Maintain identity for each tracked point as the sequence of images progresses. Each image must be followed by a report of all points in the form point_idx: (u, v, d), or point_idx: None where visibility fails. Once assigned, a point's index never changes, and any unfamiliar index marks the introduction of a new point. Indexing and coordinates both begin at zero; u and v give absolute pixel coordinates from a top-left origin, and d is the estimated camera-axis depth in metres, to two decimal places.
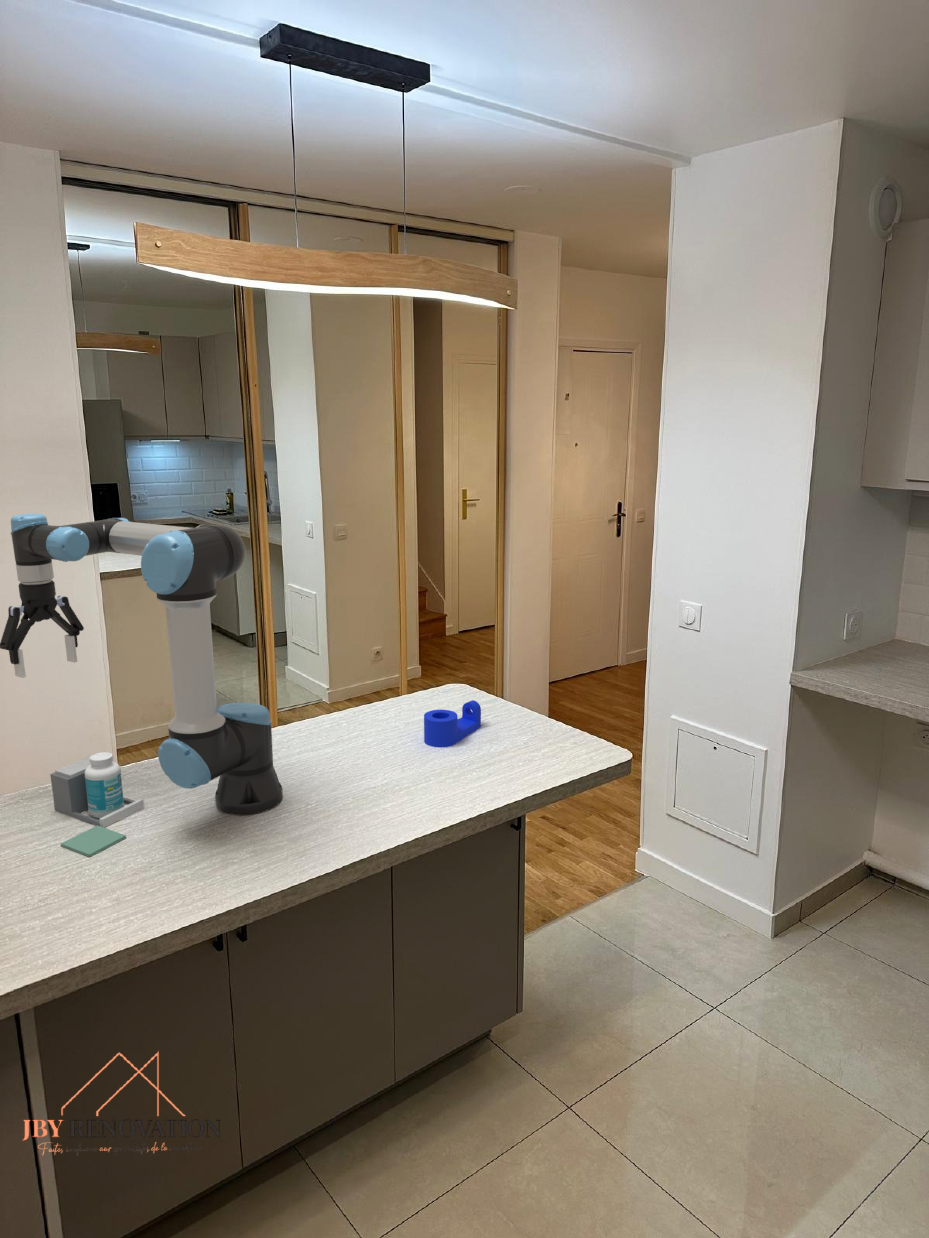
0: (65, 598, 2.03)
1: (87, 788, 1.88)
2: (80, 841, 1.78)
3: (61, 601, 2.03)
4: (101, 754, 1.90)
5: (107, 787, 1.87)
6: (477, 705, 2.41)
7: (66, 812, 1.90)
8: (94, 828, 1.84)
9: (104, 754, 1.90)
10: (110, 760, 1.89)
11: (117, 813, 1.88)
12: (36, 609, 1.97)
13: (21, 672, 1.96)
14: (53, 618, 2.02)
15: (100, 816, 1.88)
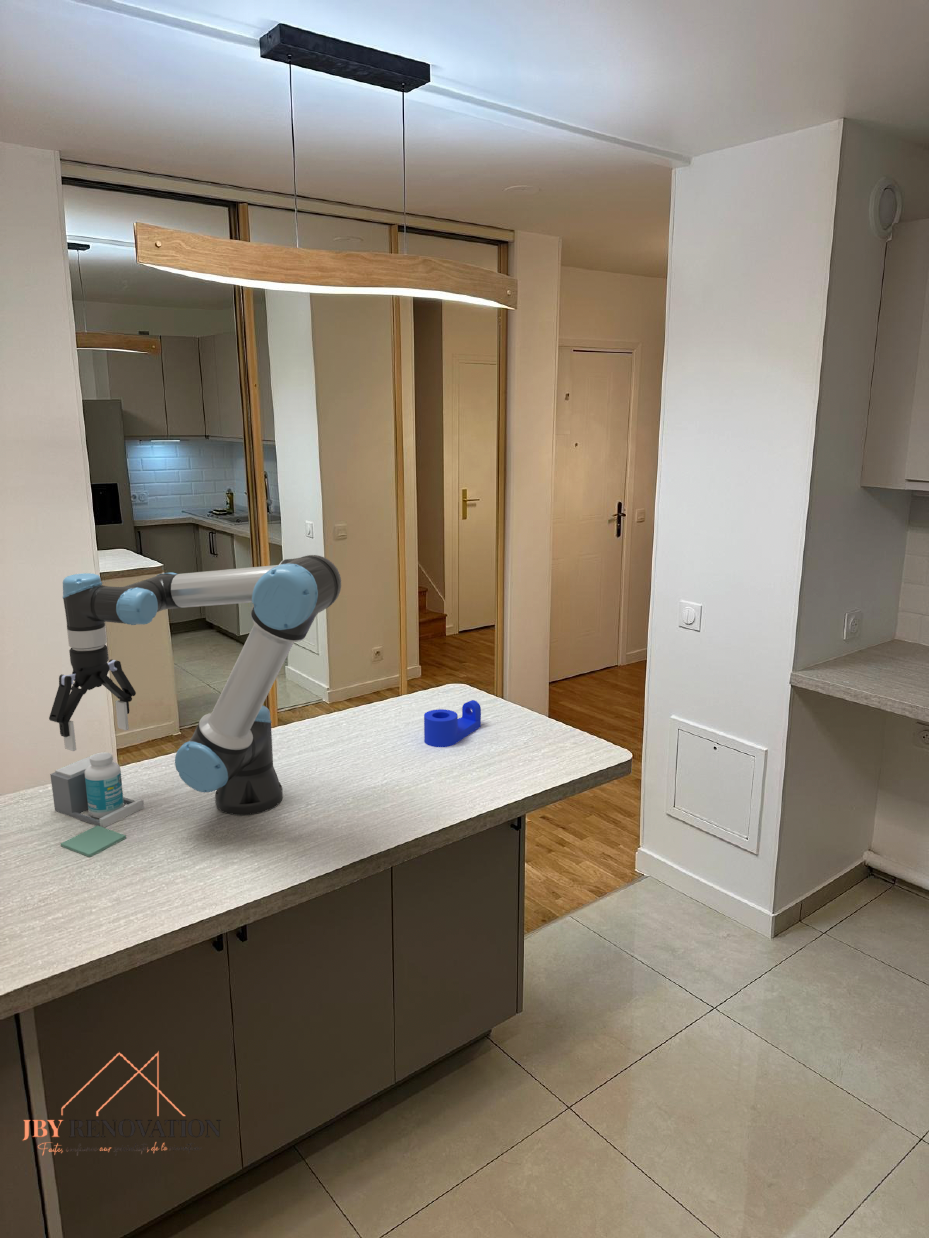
0: (118, 662, 1.88)
1: (87, 788, 1.88)
2: (80, 841, 1.78)
3: (113, 666, 1.88)
4: (101, 754, 1.90)
5: (107, 787, 1.87)
6: (476, 705, 2.41)
7: (66, 812, 1.90)
8: (94, 828, 1.84)
9: (104, 754, 1.90)
10: (110, 760, 1.89)
11: (117, 813, 1.88)
12: (88, 677, 1.82)
13: (72, 745, 1.81)
14: (105, 684, 1.88)
15: (100, 816, 1.88)
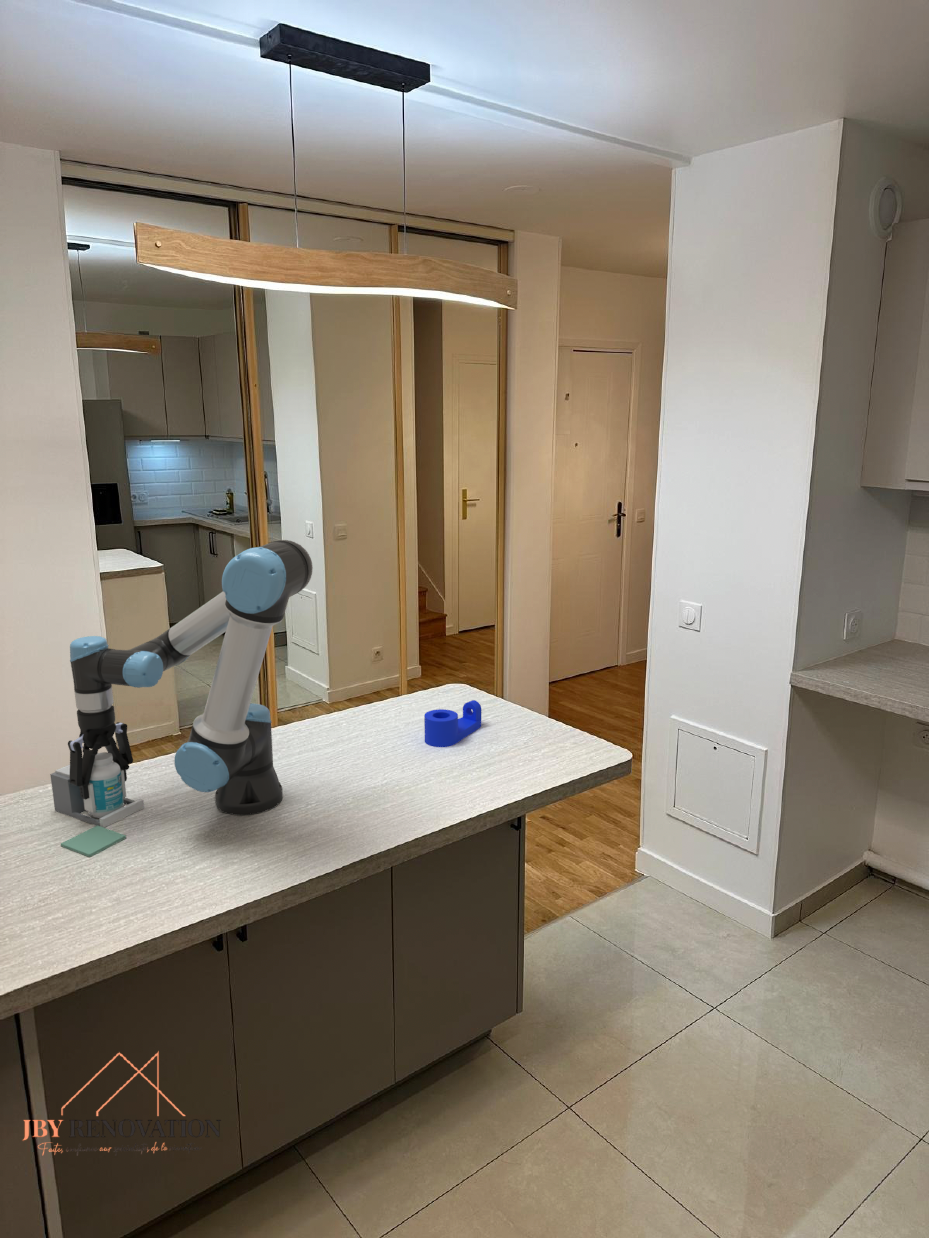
0: (124, 725, 1.92)
1: None
2: (80, 841, 1.78)
3: (119, 728, 1.92)
4: (101, 754, 1.90)
5: (107, 787, 1.87)
6: (477, 705, 2.41)
7: (66, 812, 1.90)
8: (94, 828, 1.84)
9: (104, 754, 1.90)
10: (110, 760, 1.89)
11: (117, 813, 1.88)
12: (95, 738, 1.85)
13: (91, 807, 1.87)
14: (108, 746, 1.90)
15: (100, 816, 1.88)
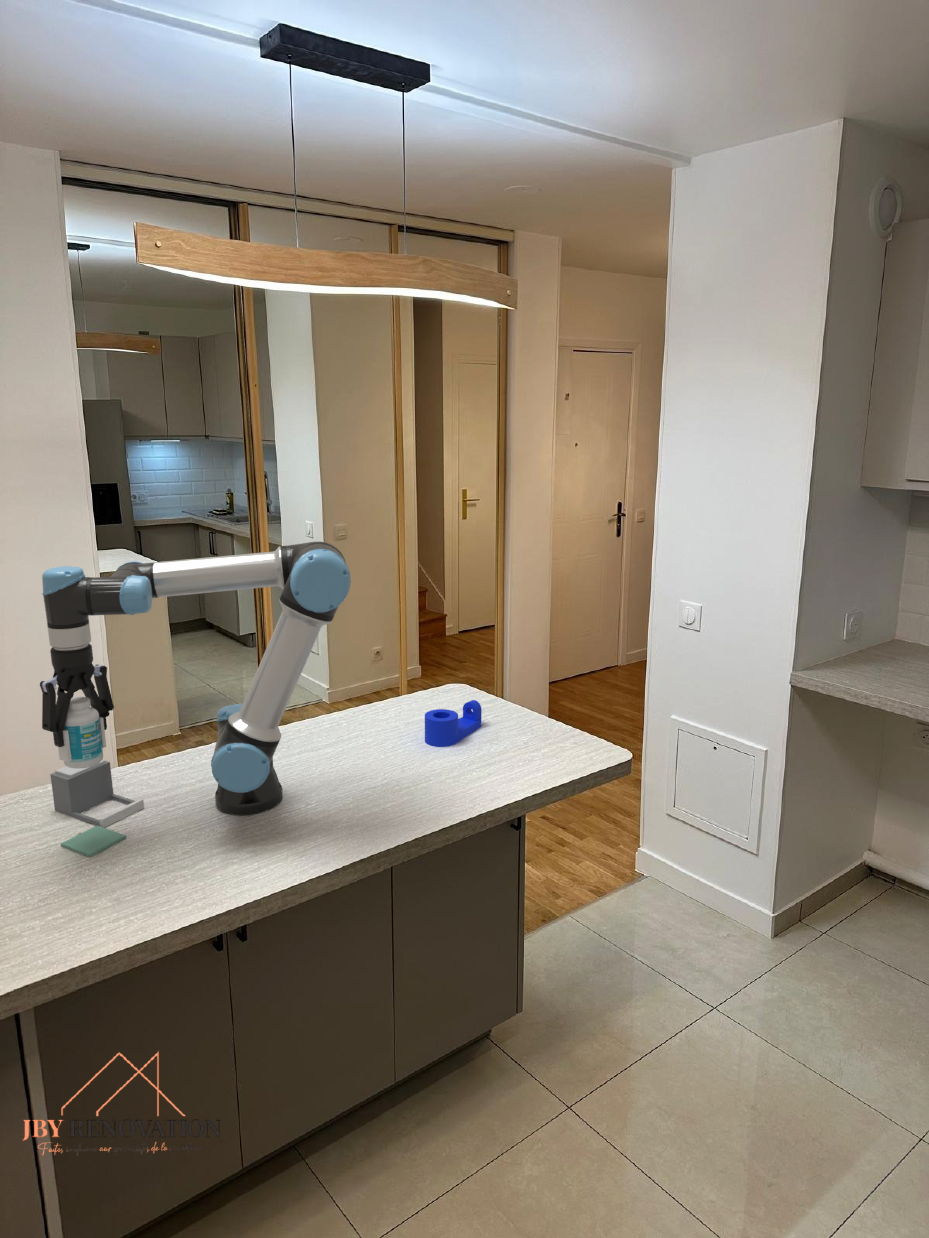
0: (104, 667, 1.75)
1: None
2: (80, 841, 1.78)
3: (98, 670, 1.75)
4: (77, 698, 1.73)
5: (84, 734, 1.70)
6: (477, 704, 2.41)
7: (66, 812, 1.90)
8: (94, 828, 1.84)
9: (81, 698, 1.73)
10: (87, 705, 1.71)
11: (117, 813, 1.88)
12: (71, 679, 1.68)
13: (66, 755, 1.70)
14: (85, 690, 1.73)
15: (76, 766, 1.71)
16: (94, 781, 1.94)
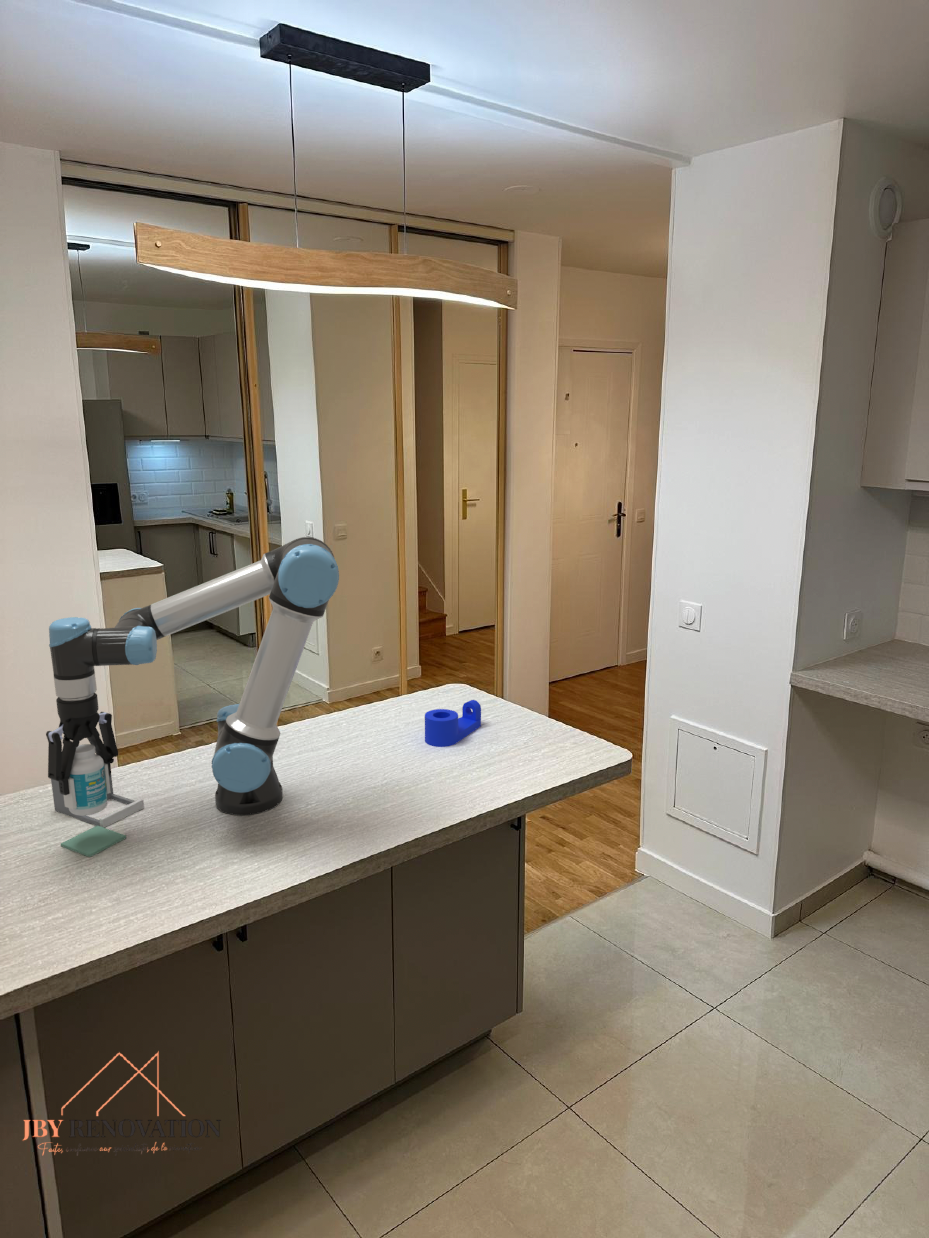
0: (109, 715, 1.77)
1: None
2: (80, 841, 1.78)
3: (103, 718, 1.77)
4: (83, 746, 1.75)
5: (89, 782, 1.72)
6: (477, 704, 2.41)
7: (66, 812, 1.90)
8: (94, 828, 1.84)
9: (86, 746, 1.75)
10: (92, 752, 1.74)
11: (117, 813, 1.88)
12: (76, 729, 1.70)
13: (72, 803, 1.72)
14: (90, 738, 1.75)
15: (81, 813, 1.73)
16: None
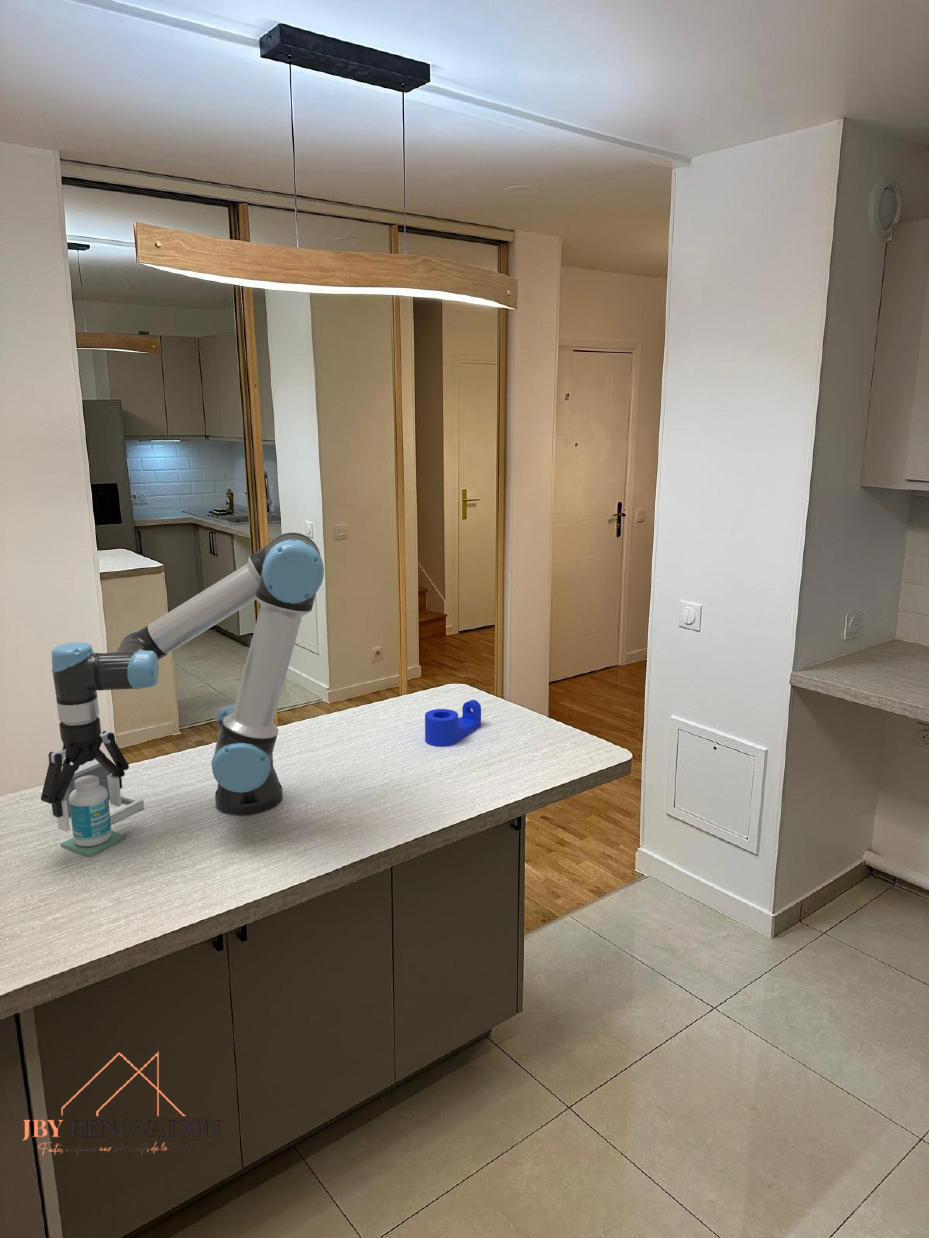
0: (111, 735, 1.78)
1: (72, 814, 1.75)
2: None
3: (106, 738, 1.78)
4: (87, 777, 1.77)
5: (93, 813, 1.74)
6: (477, 704, 2.41)
7: None
8: None
9: (90, 777, 1.77)
10: (96, 784, 1.75)
11: (117, 813, 1.88)
12: (79, 752, 1.71)
13: (65, 825, 1.71)
14: (97, 758, 1.77)
15: (86, 844, 1.75)
16: None
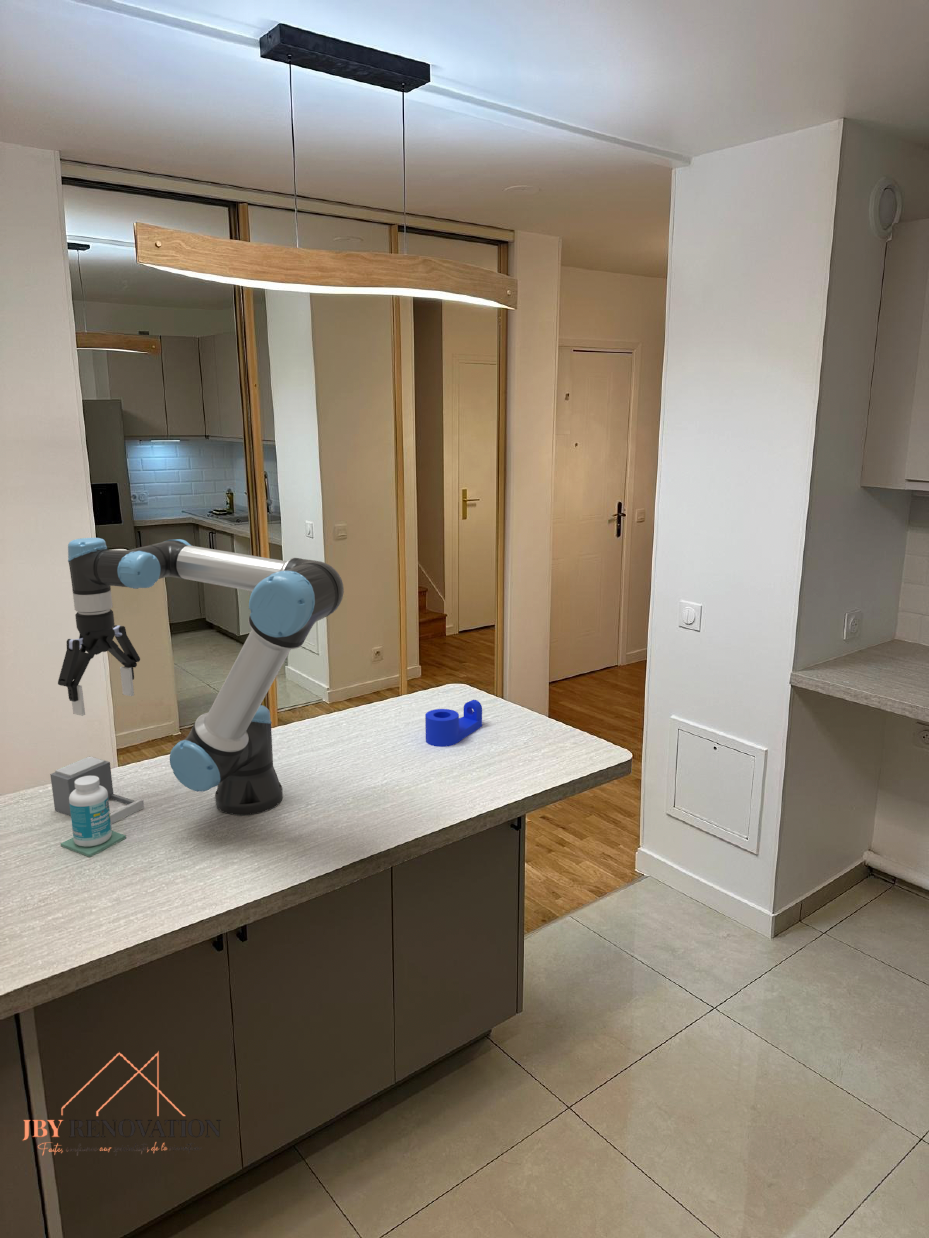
0: (122, 628, 1.89)
1: (72, 814, 1.75)
2: None
3: (118, 631, 1.89)
4: (87, 778, 1.77)
5: (93, 814, 1.74)
6: (478, 704, 2.41)
7: (66, 812, 1.90)
8: None
9: (90, 778, 1.77)
10: (96, 784, 1.75)
11: (117, 813, 1.88)
12: (95, 641, 1.82)
13: (80, 710, 1.81)
14: (110, 650, 1.88)
15: (86, 844, 1.75)
16: None
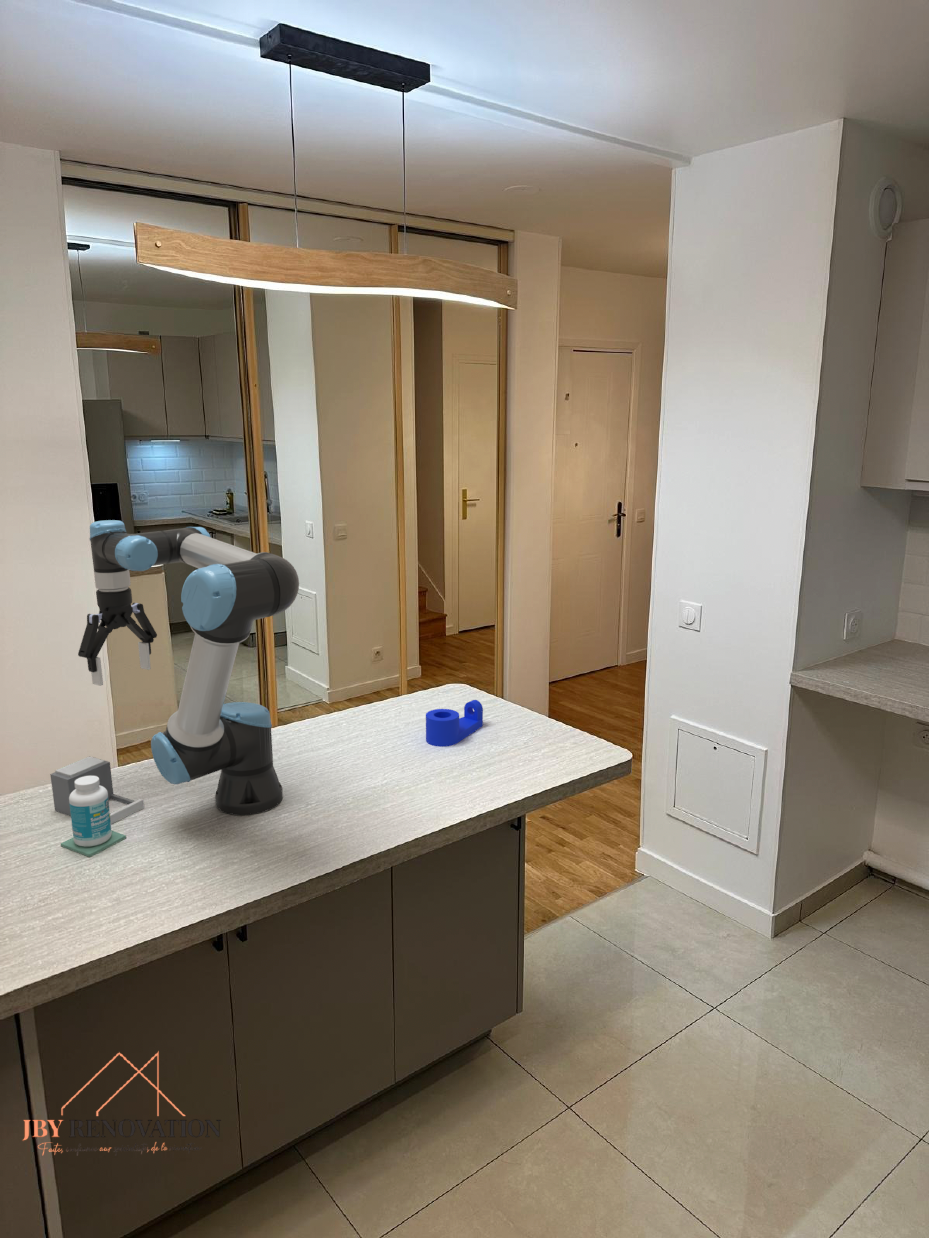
0: (140, 605, 2.02)
1: (72, 814, 1.75)
2: None
3: (136, 608, 2.02)
4: (87, 778, 1.77)
5: (93, 814, 1.74)
6: (478, 704, 2.41)
7: (66, 812, 1.90)
8: None
9: (90, 778, 1.77)
10: (96, 784, 1.75)
11: (117, 813, 1.88)
12: (114, 616, 1.95)
13: (99, 680, 1.94)
14: (128, 625, 2.01)
15: (86, 844, 1.75)
16: None
